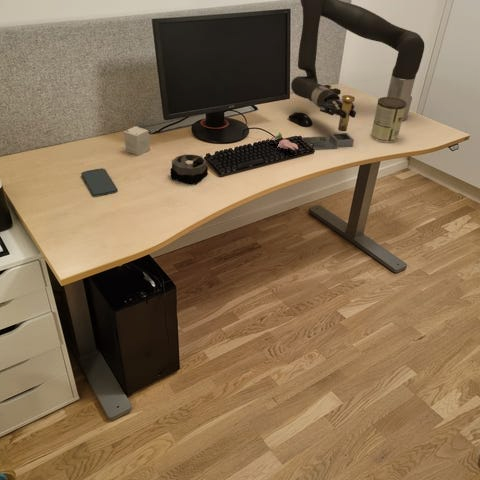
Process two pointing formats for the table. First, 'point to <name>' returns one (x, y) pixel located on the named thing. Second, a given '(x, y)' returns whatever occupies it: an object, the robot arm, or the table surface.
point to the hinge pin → (347, 108)
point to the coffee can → (388, 119)
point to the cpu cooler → (189, 169)
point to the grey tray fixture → (330, 141)
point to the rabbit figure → (284, 142)
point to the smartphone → (99, 182)
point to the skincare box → (137, 140)
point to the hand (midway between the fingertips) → (350, 115)
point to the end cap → (333, 89)
